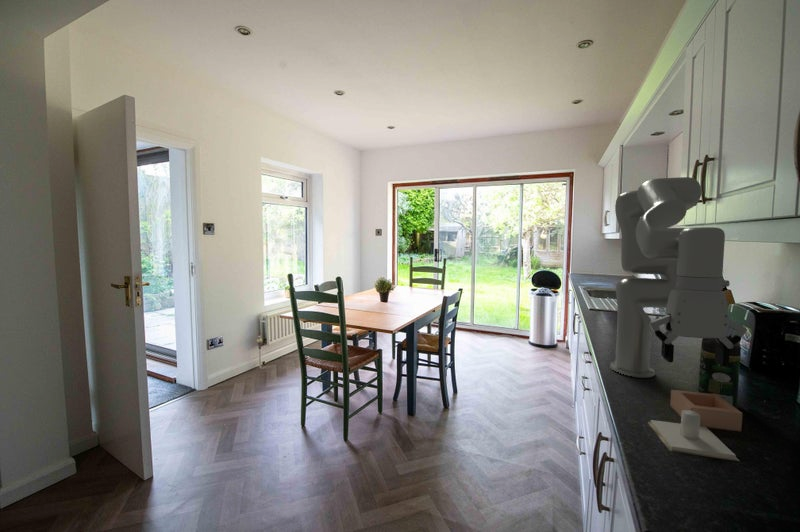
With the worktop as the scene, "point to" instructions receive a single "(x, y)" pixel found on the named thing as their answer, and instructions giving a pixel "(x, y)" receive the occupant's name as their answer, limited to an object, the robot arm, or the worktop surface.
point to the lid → (691, 436)
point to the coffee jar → (719, 372)
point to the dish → (708, 409)
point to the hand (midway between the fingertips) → (693, 362)
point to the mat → (687, 452)
